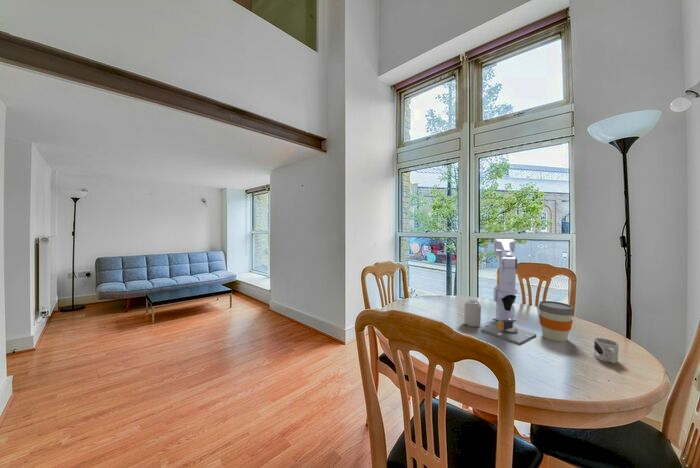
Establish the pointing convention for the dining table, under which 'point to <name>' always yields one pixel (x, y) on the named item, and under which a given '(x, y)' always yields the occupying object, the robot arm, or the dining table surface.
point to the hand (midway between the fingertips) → (507, 310)
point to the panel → (509, 334)
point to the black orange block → (507, 326)
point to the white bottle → (472, 313)
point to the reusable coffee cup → (555, 320)
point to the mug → (606, 350)
